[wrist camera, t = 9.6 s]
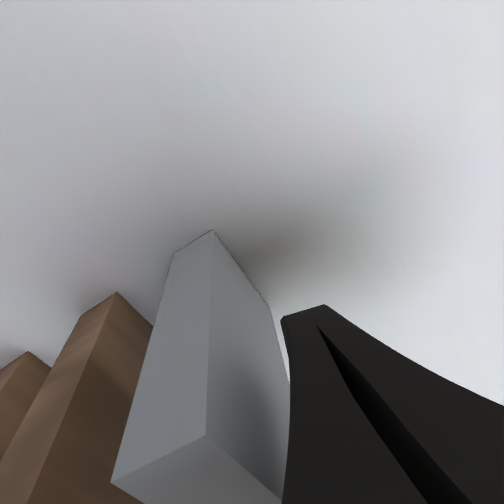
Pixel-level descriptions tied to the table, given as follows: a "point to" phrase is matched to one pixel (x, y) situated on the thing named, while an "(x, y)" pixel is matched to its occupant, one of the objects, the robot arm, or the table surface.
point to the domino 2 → (208, 391)
